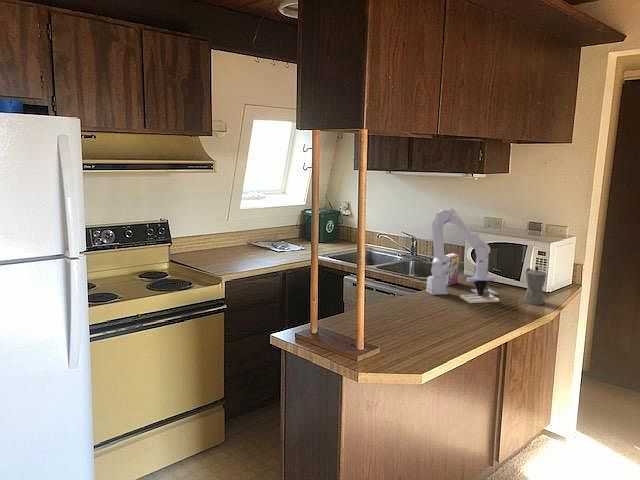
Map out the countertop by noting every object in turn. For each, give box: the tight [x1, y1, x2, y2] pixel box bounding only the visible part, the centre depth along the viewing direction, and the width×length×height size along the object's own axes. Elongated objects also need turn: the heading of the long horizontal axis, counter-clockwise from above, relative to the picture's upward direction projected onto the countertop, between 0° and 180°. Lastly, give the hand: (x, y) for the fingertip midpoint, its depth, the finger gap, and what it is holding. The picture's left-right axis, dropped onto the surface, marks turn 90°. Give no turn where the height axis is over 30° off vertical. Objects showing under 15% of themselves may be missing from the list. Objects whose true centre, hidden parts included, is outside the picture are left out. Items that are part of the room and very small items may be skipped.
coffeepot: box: [523, 266, 547, 306], centre depth 257 cm, size 15×9×18 cm, turn 8°
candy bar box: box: [444, 253, 460, 287], centre depth 288 cm, size 11×5×16 cm, turn 141°
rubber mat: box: [470, 288, 499, 296], centre depth 273 cm, size 10×10×1 cm
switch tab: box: [482, 290, 489, 297], centre depth 260 cm, size 3×3×3 cm
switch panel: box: [459, 293, 500, 304], centre depth 260 cm, size 16×10×2 cm, turn 102°
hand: (479, 295), depth 260 cm, fingers closed
